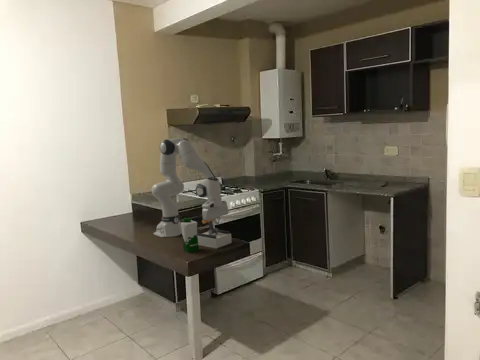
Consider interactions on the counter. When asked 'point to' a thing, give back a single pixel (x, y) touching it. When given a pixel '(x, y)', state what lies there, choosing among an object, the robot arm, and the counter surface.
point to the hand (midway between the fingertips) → (216, 224)
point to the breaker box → (215, 243)
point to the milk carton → (189, 235)
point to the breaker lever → (209, 225)
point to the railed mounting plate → (212, 235)
